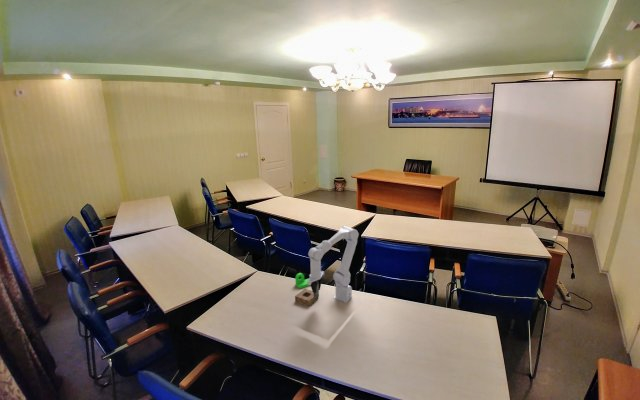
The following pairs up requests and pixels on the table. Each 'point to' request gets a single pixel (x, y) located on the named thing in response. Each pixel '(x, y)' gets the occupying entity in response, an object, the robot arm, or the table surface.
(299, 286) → the mechanical part
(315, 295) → the metal peg
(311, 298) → the square wooden ring
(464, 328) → the table surface
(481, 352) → the table surface
